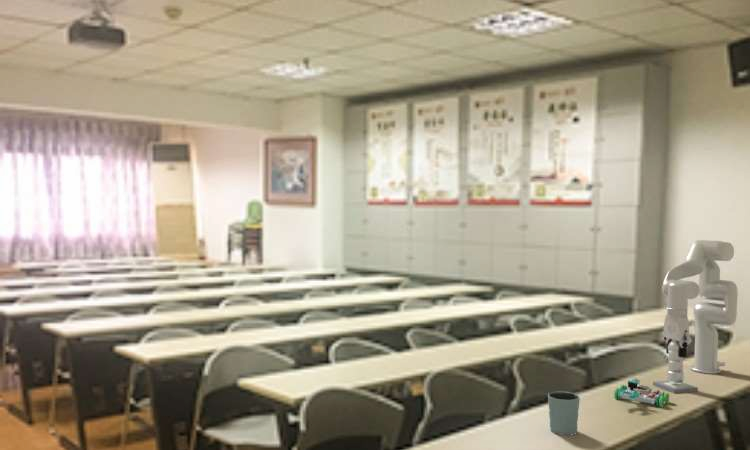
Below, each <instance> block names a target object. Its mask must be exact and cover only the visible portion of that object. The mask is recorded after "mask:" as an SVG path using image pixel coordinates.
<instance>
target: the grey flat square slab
mask: <svg viewBox="0 0 750 450" xmlns="http://www.w3.org/2000/svg"><path fill="white" fill-rule="evenodd" d="M652 386H655V387H656V388H658V389H659V388H660V389H662V390H665V391H667V392H669V393H672V394H680V393H690V392H691V393H692V392H698V391H699V387H697V386H694V385H691V384H690V383H686V382H684V381H683V382H682V383H673V382H670V381H669V380H661V381H660V380H659V381H657V380H656V381H653V382H652Z"/></svg>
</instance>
